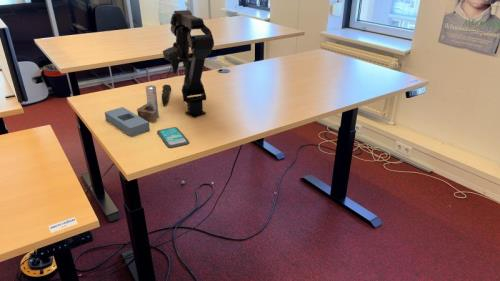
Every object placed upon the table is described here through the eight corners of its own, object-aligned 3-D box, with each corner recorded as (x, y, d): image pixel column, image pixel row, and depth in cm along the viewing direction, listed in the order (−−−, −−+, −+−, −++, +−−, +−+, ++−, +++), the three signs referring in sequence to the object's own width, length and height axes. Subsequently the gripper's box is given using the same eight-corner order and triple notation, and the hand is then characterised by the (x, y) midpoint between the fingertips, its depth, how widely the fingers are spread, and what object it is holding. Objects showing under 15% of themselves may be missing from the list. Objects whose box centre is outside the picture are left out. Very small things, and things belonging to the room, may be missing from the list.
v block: (151, 111, 163) (150, 102, 161) (157, 121, 154) (156, 112, 152) (136, 113, 160) (135, 105, 158) (141, 124, 151) (140, 115, 149)
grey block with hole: (149, 130, 147) (149, 122, 145) (131, 136, 142) (130, 128, 140) (123, 114, 159) (122, 106, 158) (105, 120, 154) (104, 112, 152)
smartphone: (168, 147, 134) (155, 130, 146) (168, 149, 135) (155, 132, 146) (190, 142, 138) (177, 126, 149) (191, 144, 138) (177, 128, 150)
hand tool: (163, 92, 184) (162, 82, 182) (171, 91, 185) (170, 82, 183) (158, 107, 168) (157, 97, 166) (167, 107, 168) (166, 97, 166)
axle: (160, 116, 158) (157, 87, 152) (152, 119, 156) (149, 89, 149) (155, 113, 161) (152, 84, 154) (147, 116, 158) (143, 87, 152)
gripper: (154, 36, 160) (153, 71, 167) (178, 48, 148) (176, 86, 156) (176, 35, 167) (175, 69, 174) (201, 47, 156) (198, 83, 163)
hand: (180, 76), depth 167 cm, fingers open, 9 cm apart
